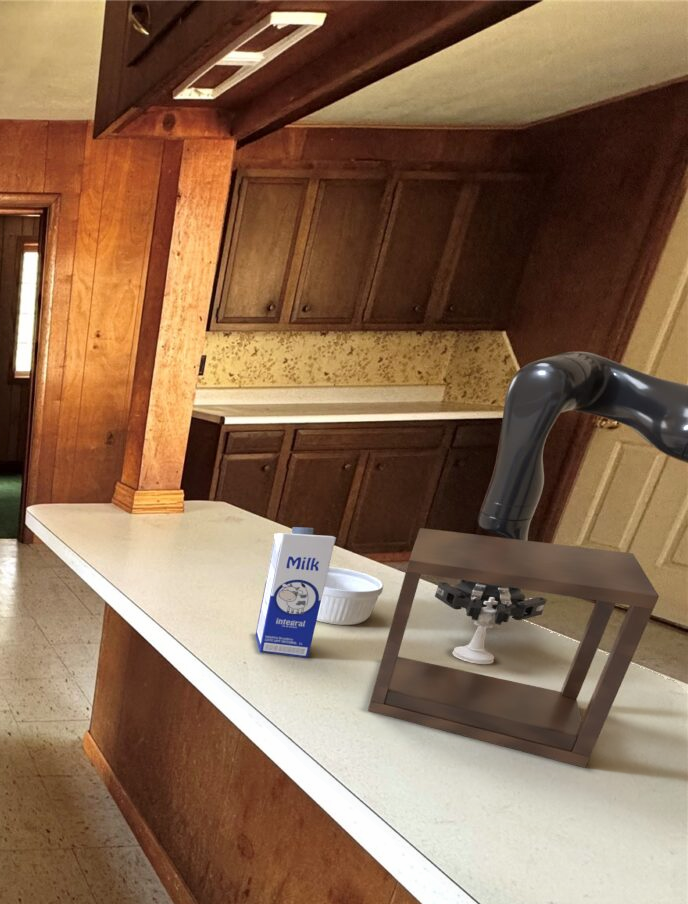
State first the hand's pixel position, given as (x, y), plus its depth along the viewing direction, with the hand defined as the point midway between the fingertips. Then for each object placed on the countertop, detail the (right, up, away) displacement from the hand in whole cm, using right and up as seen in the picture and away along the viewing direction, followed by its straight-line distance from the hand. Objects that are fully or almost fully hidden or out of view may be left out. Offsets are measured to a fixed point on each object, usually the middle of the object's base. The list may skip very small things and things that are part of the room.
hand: (488, 616), depth 98 cm
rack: (-10, -12, -8) cm, 18 cm away
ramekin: (-9, 0, +22) cm, 24 cm away
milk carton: (-25, -5, +11) cm, 27 cm away
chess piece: (+2, -7, +5) cm, 9 cm away
